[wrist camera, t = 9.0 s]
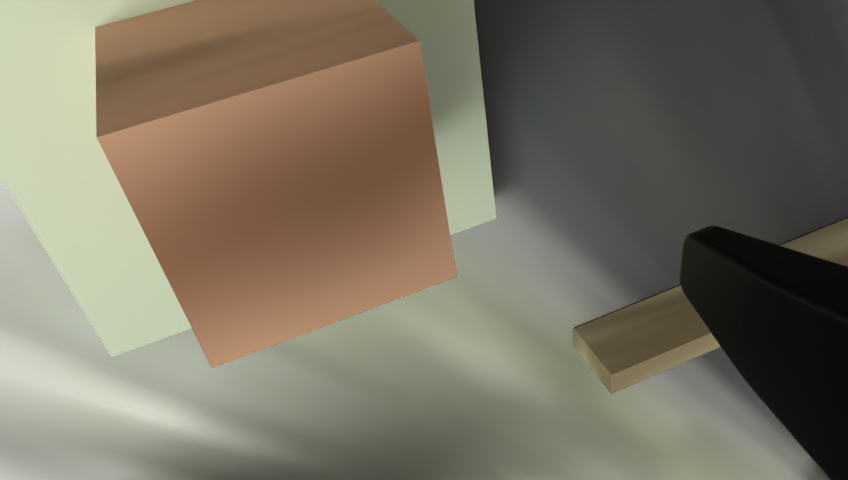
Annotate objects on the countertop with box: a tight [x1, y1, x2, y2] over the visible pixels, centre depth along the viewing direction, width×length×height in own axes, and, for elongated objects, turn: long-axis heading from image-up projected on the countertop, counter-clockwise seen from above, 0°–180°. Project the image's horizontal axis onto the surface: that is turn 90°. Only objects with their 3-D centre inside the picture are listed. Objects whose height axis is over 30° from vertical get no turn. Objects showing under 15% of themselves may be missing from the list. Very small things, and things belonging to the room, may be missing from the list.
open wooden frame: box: [574, 218, 848, 394], centre depth 22 cm, size 17×16×2 cm
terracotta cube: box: [95, 0, 457, 368], centre depth 14 cm, size 5×5×5 cm
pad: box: [0, 0, 496, 357], centre depth 16 cm, size 11×11×1 cm
